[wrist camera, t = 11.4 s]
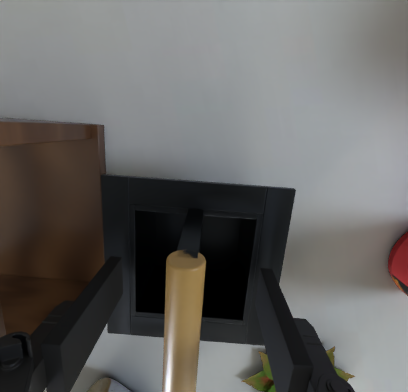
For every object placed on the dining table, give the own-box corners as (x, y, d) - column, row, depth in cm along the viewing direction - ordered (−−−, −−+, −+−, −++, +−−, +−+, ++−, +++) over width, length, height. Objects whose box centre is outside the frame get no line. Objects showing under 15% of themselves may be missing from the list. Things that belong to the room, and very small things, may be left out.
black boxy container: (135, 279, 25) (48, 448, 12) (134, 160, 22) (13, 211, 9) (253, 288, 25) (300, 470, 12) (270, 170, 22) (363, 237, 8)
